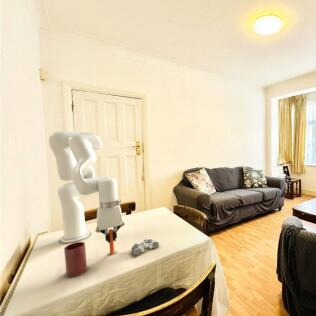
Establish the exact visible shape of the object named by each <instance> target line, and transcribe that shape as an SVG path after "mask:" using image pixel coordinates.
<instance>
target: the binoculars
mask: <svg viewBox="0 0 316 316" xmlns="http://www.w3.org/2000/svg"><path fill="white" fill-rule="evenodd" d="M159 245H160V242H159V241H157V240H154V239H152V238H151V237H148V238H147V239H144V240H142V241H141V242H140V243H138V242H135V243H134V244H133V245H132V246H131V248H130V249H131V251H132V252H133V254H134V255H135V256H139V255H141V253H143V252H144V251H145V248H149V249H151V250H152V249H155V248H158V247H159Z"/></svg>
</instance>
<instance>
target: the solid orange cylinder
mask: <svg viewBox="0 0 316 316" xmlns="http://www.w3.org/2000/svg"><path fill="white" fill-rule="evenodd" d="M108 233H109V235H110V243H108V244H109V254H110V255H114V254H115V241H114V240H113V228H109V229H108Z"/></svg>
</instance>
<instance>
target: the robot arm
mask: <svg viewBox="0 0 316 316" xmlns="http://www.w3.org/2000/svg"><path fill="white" fill-rule="evenodd" d="M48 144H49V147H50V149H51V151H52V153H53V155H54V157H55V163H56V168H57V173H58V174H57V175H58V177H59V179H60V180H61V181H63V182H66V181H67V182H68V183H64V184H62V185H60V186H59V187H58V189H57V194H58V195H57V196H58V198H59V201H60V206H61V216H62V227H63V236H62V237H60V242H61V243H64V244H65V243H66V244H68V243H76V242H79V241H81V240H84V239H86V238H87V237H88V236H89V235H90V231H88V230H86V220H85V207H84V204H83V203H82V202H81V201H80V199H83V198H86V197H88V198H89V197H91V196H94V195H95V194H97V193H98V202H99V203H98V204H99V207H98V208H97V210H96V228H95V233H97V234H98V233H101V234H103V235H104V238H105V242H107V244H109V243H110V235H109V229H113V240H114V242H116V240H117V238H118V232H119V230H120V229H121V228H122V227H124V226H125V225H126V224H125V222H124V221H123V213H122V208H121V205H120V204H121V203H122V199H119V195H118V181H117V179H116V178H113V177H110V176H107V175H102V176H96V174H95V170H94V167H93V165H94V164H95V163H96V162H98V161H97V160H98V157H97V155H96V153H95V151H99V150H101V148H102V147H103V141H102V139H101V137H100V136H98V135H97V134H94V133H91V132H87V131H65V130H64V131H53V132H52V133H50V135H49V137H48ZM69 181H72V182H69Z"/></svg>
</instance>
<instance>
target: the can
mask: <svg viewBox="0 0 316 316" xmlns="http://www.w3.org/2000/svg"><path fill="white" fill-rule="evenodd" d="M63 251H64V263H65V264H64V265H65V273H66V277H67V278H75V277H78V276H80V275H83V274H84V273H86V271H87V270H88V265H87V253H86V243H85V241H75V242H71V243H70V244H67V245H66V246H65V247H64V248H63Z"/></svg>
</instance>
